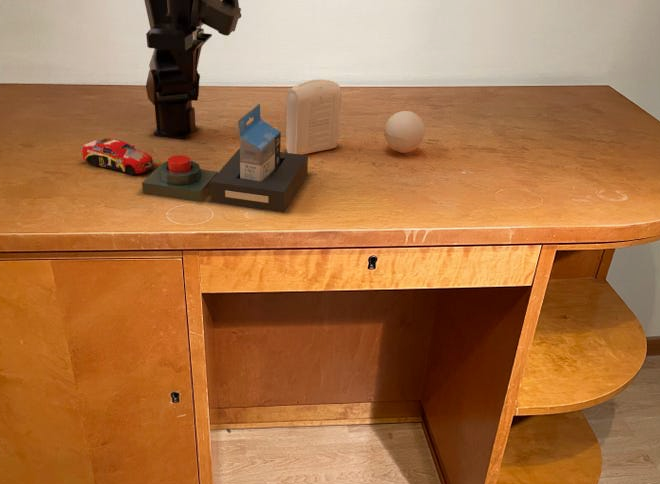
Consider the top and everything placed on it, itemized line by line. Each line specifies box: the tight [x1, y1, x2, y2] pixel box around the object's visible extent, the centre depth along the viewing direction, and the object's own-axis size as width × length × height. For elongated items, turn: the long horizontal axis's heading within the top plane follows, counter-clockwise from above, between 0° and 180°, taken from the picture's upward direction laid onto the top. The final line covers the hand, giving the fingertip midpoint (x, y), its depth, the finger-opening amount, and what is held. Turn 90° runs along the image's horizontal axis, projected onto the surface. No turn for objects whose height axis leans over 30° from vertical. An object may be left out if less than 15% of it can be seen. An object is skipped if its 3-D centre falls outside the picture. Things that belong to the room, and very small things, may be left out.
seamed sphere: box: [375, 110, 425, 154], centre depth 129 cm, size 10×7×7 cm
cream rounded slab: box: [285, 78, 342, 155], centre depth 127 cm, size 10×4×12 cm, turn 123°
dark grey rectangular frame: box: [210, 147, 309, 213], centre depth 115 cm, size 12×15×4 cm
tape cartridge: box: [237, 103, 282, 183], centre depth 113 cm, size 9×4×12 cm, turn 161°
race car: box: [81, 138, 154, 177], centre depth 121 cm, size 13×5×4 cm, turn 63°
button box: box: [141, 160, 219, 203], centre depth 115 cm, size 10×8×4 cm
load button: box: [167, 154, 192, 173], centre depth 113 cm, size 4×4×2 cm
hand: (190, 81), depth 118 cm, fingers closed
